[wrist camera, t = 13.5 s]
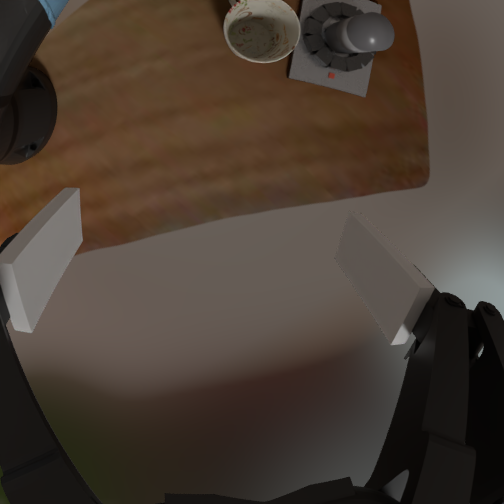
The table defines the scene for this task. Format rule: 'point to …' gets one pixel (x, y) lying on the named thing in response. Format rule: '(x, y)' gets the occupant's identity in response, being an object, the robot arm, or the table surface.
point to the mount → (322, 56)
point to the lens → (360, 34)
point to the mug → (261, 29)
